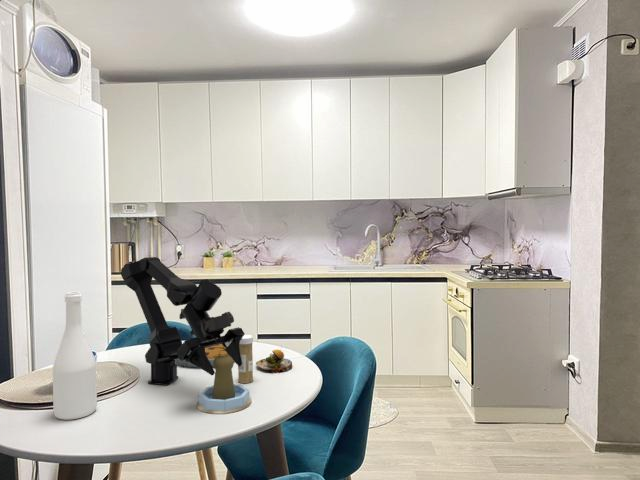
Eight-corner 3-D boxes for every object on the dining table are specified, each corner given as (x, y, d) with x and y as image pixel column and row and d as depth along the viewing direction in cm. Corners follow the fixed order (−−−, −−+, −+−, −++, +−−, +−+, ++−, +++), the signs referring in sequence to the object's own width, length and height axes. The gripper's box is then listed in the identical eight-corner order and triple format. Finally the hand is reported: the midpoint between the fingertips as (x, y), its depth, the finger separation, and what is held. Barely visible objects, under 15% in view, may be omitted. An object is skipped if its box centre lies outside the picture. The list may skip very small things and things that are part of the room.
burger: (259, 362, 158) (259, 340, 157) (294, 363, 157) (294, 341, 157) (252, 373, 146) (252, 350, 145) (290, 374, 145) (290, 350, 145)
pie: (243, 350, 172) (243, 337, 171) (234, 369, 150) (234, 354, 150) (183, 351, 171) (183, 337, 171) (165, 370, 149) (165, 354, 149)
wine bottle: (67, 424, 109) (64, 296, 108) (45, 415, 114) (42, 293, 113) (105, 410, 117) (102, 291, 116) (83, 402, 122) (80, 288, 121)
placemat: (187, 412, 116) (187, 410, 116) (209, 391, 130) (209, 390, 130) (241, 415, 114) (241, 414, 114) (258, 394, 127) (258, 393, 127)
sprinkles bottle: (255, 381, 138) (255, 336, 137) (241, 384, 135) (241, 338, 135) (249, 377, 142) (248, 333, 141) (235, 380, 139) (234, 335, 138)
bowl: (192, 409, 117) (192, 399, 117) (211, 391, 128) (211, 382, 128) (238, 412, 115) (238, 402, 115) (253, 394, 127) (253, 385, 126)
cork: (223, 404, 117) (223, 361, 117) (206, 399, 121) (206, 357, 120) (240, 397, 122) (240, 355, 122) (224, 392, 126) (223, 352, 125)
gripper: (183, 308, 116) (213, 360, 109) (239, 298, 130) (268, 343, 124) (165, 335, 121) (192, 386, 114) (221, 322, 135) (248, 367, 129)
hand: (227, 369), depth 120 cm, fingers open, 9 cm apart
